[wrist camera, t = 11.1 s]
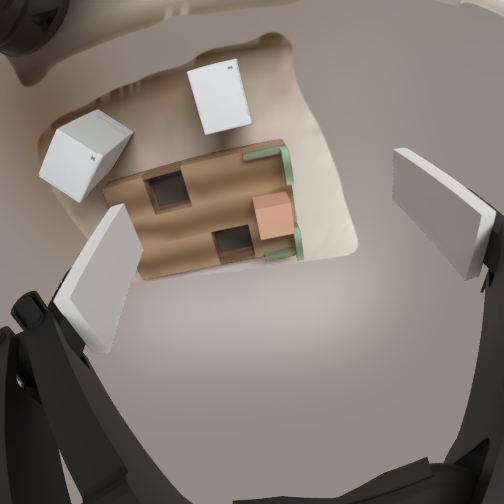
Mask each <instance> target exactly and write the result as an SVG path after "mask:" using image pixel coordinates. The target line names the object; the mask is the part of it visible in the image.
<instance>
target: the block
mask: <svg viewBox="0 0 504 504" xmlns="http://www.w3.org/2000/svg"><path fill="white" fill-rule="evenodd" d="M253 203H254V208H255V213H256V218H257V223H258V228H259V232H260V237H261V240H264V239H269V238H274V237H279V236H284V235H289V234H294V233H295V230H294V222H293V215H292V208H291V202H290V200H289V197H288V195H287V193H286V191H284V192H279V193H274V194H269V195H264V196H259V197H254V198H253Z"/></svg>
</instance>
